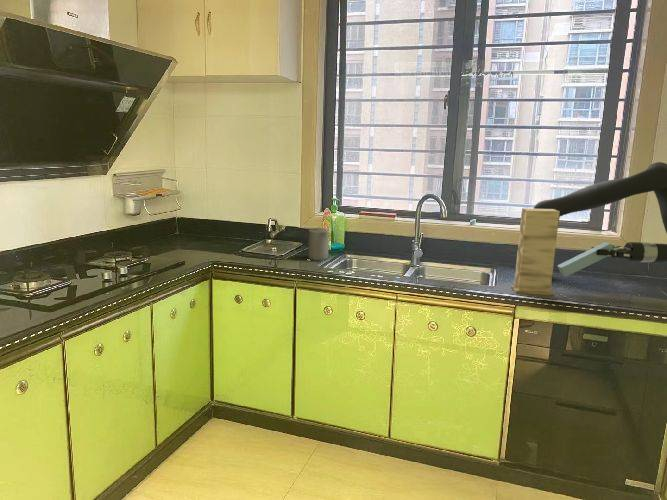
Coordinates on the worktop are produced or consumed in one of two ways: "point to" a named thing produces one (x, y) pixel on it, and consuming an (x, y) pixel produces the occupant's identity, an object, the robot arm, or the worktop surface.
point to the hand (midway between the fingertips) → (594, 250)
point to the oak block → (536, 251)
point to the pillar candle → (318, 244)
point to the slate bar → (583, 260)
